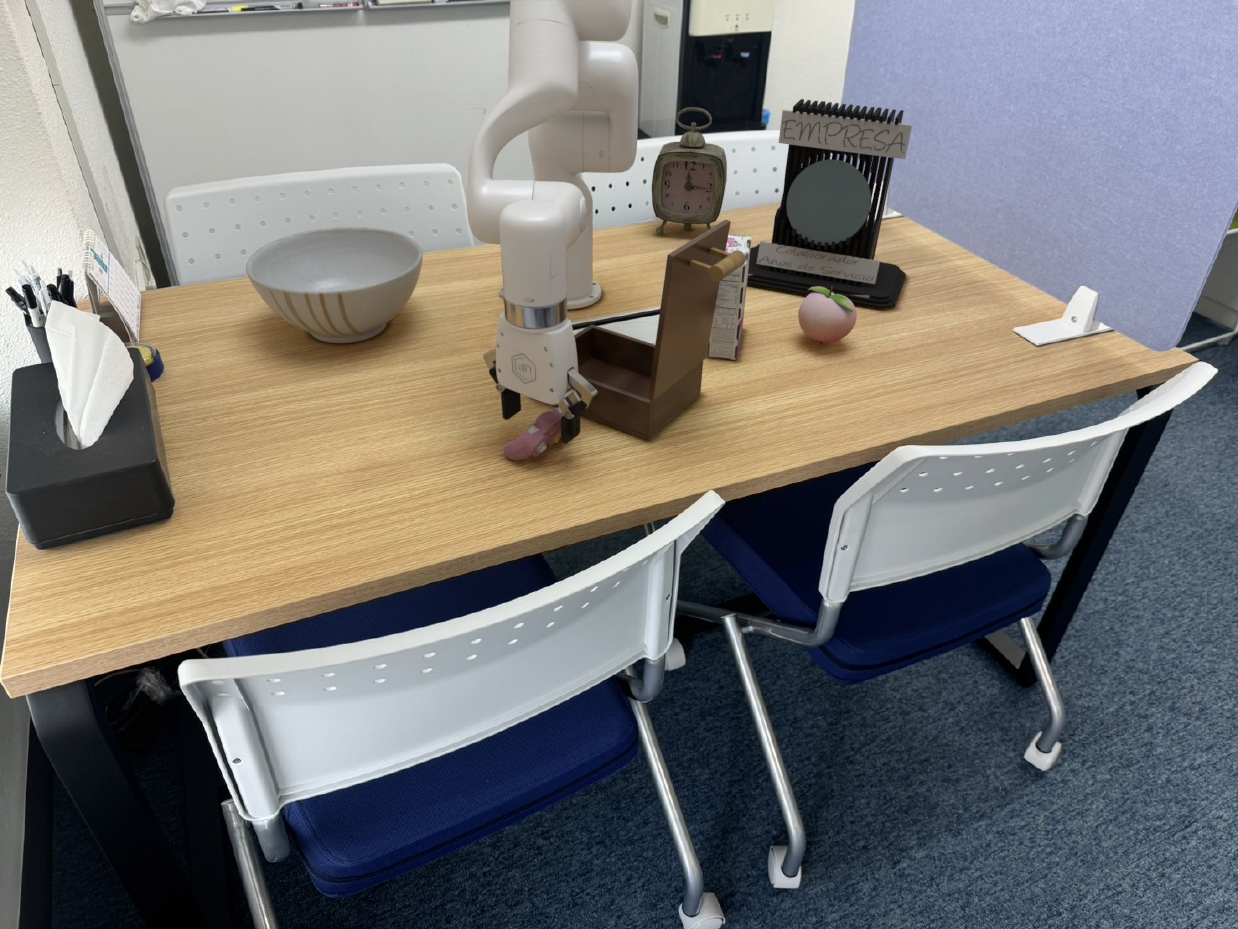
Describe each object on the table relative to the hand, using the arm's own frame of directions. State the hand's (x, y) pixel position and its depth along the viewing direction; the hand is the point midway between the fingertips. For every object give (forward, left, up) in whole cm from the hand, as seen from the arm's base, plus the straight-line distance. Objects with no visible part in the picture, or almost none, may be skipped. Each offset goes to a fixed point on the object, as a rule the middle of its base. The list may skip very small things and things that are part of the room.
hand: (540, 426), depth 114 cm
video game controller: (0, 0, -4) cm, 4 cm away
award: (+8, +75, -4) cm, 75 cm away
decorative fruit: (+19, +50, -4) cm, 53 cm away
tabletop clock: (-24, +81, -4) cm, 84 cm away
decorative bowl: (-48, +10, -4) cm, 49 cm away
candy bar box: (+6, +41, -4) cm, 41 cm away
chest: (+1, +17, -3) cm, 17 cm away
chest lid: (+11, +17, +13) cm, 24 cm away
